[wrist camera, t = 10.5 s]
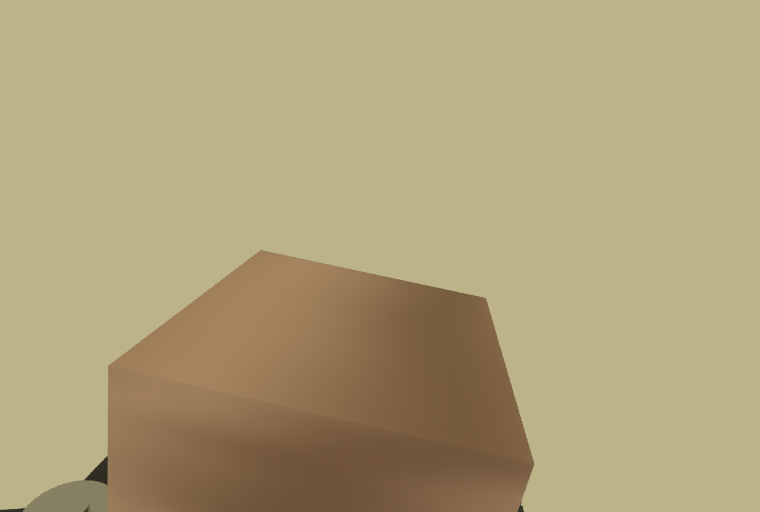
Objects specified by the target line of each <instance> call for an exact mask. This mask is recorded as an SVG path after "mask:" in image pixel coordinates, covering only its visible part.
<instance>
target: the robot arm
mask: <svg viewBox="0 0 760 512" xmlns="http://www.w3.org/2000/svg"><path fill="white" fill-rule="evenodd" d="M107 497H108V456H107V457H106V458H105V459H104V460H103V461H102V462H101V463H100V464H99V465H98V466H97V467H96V468H95V469H94V470H93V471H92V472H91V474H90V475H89V476H88V477H87V478H86V479H85V480H84V481H75V482H70V483H66V484H63V485H59V486H57V487H55V488H52V489H50V490H48V491H47V492H45V493H43V494H41V495H40V496H38V497H37V498H36V499H34V500H33V501H32V502H31V503H30V504H29V505H28V506H27V507H26V508H23V509H8V510H0V512H107ZM518 512H524V511H523V507H522V506H521V503H520V506H519V509H518Z"/></svg>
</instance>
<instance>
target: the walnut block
mask: <svg viewBox="0 0 760 512" xmlns="http://www.w3.org/2000/svg"><path fill="white" fill-rule="evenodd" d="M108 368H109V369H108V375H109V376H108V497H107V512H518V509H519V506H520V503H521V500H522V497H523V494H524V492H525V489H526V486H527V483H528V480H529V477H530V474H531V472H532V469H533V466H534V462H533V458H532V455H531V451H530V448H529V445H528V441H527V438H526V434H525V431H524V428H523V424H522V421H521V417H520V414H519V410H518V407H517V404H516V400H515V397H514V393H513V390H512V386H511V383H510V379H509V376H508V373H507V369H506V366H505V363H504V359H503V356H502V352H501V349H500V346H499V342H498V338H497V335H496V331H495V328H494V325H493V321H492V318H491V314H490V311H489V308H488V304H487V301H486V298H483V297H478V296H473V295H469V294H464V293H459V292H455V291H450V290H445V289H441V288H436V287H431V286H426V285H422V284H417V283H412V282H407V281H403V280H398V279H393V278H389V277H384V276H379V275H375V274H370V273H365V272H361V271H356V270H351V269H346V268H342V267H337V266H332V265H328V264H323V263H318V262H314V261H309V260H304V259H299V258H295V257H290V256H286V255H281V254H276V253H271V252H267V251H262V250H260V251H259V252H258V253H257V254H255V255H254V256H253V257H251V258H250V259H249V260H247V261H246V262H245V263H243V264H242V265H241V266H239V267H238V268H237V269H235V270H234V271H233V272H231V273H230V274H229V275H228V276H226V277H225V278H224V279H222V280H221V281H220V282H219V283H217V284H216V285H214V286H213V287H212V288H210V289H209V290H208V291H207V292H205V293H204V294H202V295H201V296H200V297H199V298H197V299H196V300H195V301H193V302H192V303H191V304H189V305H188V306H187V307H185V308H184V309H183V310H181V311H180V312H179V313H177V314H176V315H175V316H173V317H172V318H171V319H169V320H168V321H167V322H166V323H164V324H163V325H162V326H160V327H159V328H158V329H156V330H155V331H154V332H152V333H151V334H150V335H148V336H147V337H146V338H144V339H143V340H142V341H140V342H139V343H138V344H137V345H135V346H134V347H133V348H131V349H130V350H129V351H127V352H126V353H125V354H123V355H122V356H121V357H119V358H118V359H117V360H115V361H114V362H113V363H111V364H110V365H109V367H108Z"/></svg>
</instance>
